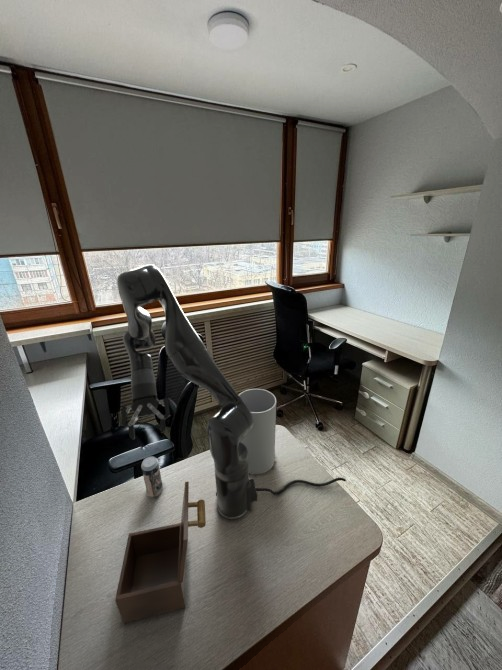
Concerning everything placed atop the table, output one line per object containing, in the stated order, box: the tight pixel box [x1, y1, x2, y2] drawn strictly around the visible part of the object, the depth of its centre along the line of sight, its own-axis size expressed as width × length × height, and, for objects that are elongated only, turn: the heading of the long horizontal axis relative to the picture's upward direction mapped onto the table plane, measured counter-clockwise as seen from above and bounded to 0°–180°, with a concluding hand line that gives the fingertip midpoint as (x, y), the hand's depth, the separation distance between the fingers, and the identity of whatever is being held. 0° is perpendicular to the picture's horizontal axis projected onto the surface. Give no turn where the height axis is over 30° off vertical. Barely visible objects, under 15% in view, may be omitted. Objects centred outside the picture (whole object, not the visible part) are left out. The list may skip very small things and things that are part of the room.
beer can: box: [140, 455, 164, 498], centre depth 80 cm, size 5×5×12 cm
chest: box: [114, 522, 187, 624], centre depth 60 cm, size 12×12×9 cm
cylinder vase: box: [238, 388, 277, 475], centre depth 88 cm, size 12×12×25 cm
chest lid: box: [179, 481, 207, 583], centre depth 58 cm, size 13×12×4 cm
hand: (148, 435), depth 83 cm, fingers open, 8 cm apart
